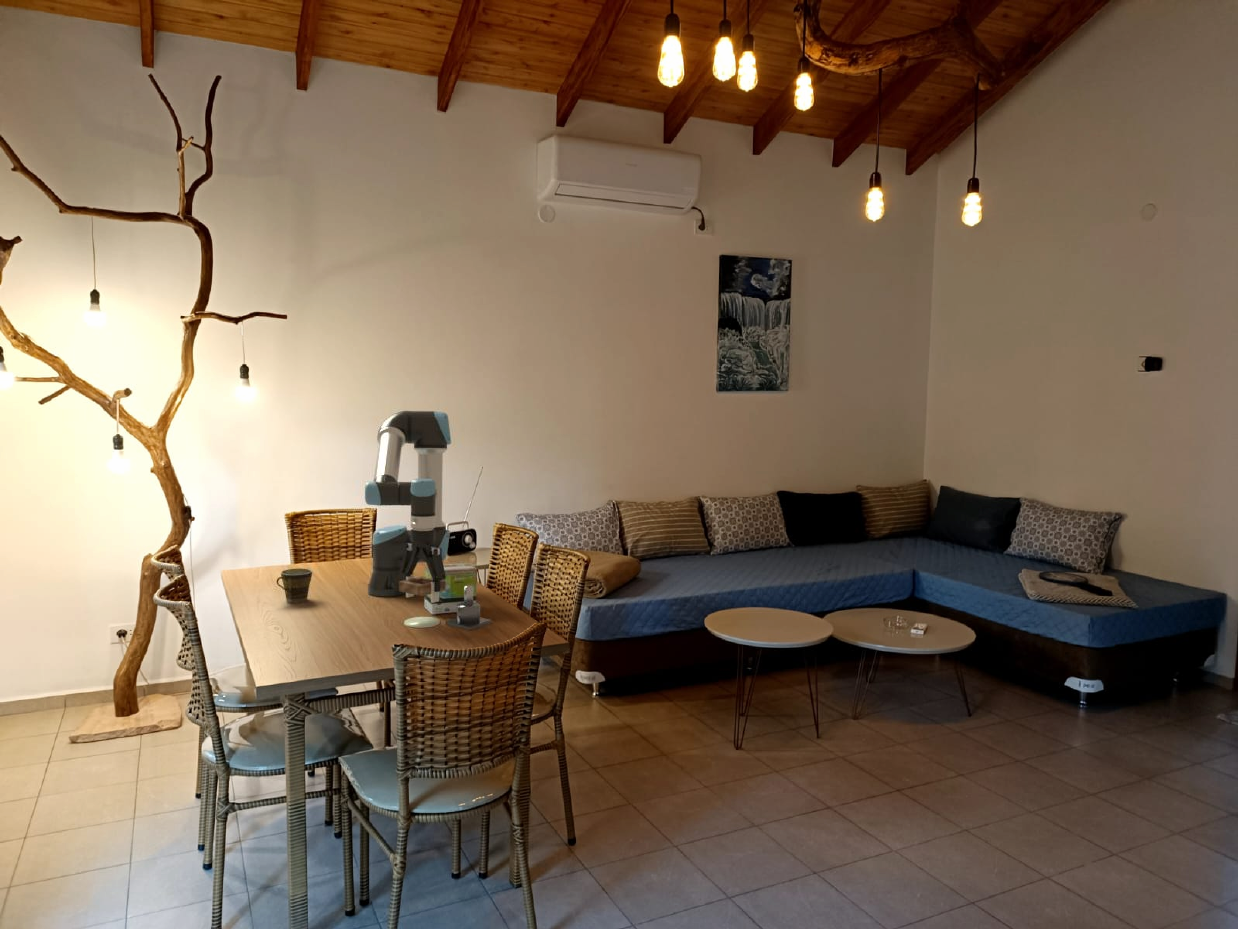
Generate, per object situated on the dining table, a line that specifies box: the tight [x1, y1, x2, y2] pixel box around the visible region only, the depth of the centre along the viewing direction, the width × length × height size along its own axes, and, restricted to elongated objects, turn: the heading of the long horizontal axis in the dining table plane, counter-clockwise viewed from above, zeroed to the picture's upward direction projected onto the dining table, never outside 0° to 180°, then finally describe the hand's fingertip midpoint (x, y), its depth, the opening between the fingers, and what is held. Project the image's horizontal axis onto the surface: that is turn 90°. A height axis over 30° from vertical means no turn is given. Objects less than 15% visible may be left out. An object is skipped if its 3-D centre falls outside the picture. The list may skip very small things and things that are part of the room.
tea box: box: [423, 562, 478, 615], centre depth 287 cm, size 15×10×15 cm, turn 117°
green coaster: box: [403, 616, 441, 629], centre depth 271 cm, size 11×11×1 cm
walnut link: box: [399, 576, 445, 597], centre depth 270 cm, size 10×10×3 cm
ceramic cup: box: [276, 567, 313, 604], centre depth 291 cm, size 13×10×10 cm
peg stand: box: [444, 585, 492, 631], centre depth 271 cm, size 10×10×12 cm
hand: (422, 599), depth 270 cm, fingers closed on walnut link, 10 cm apart
